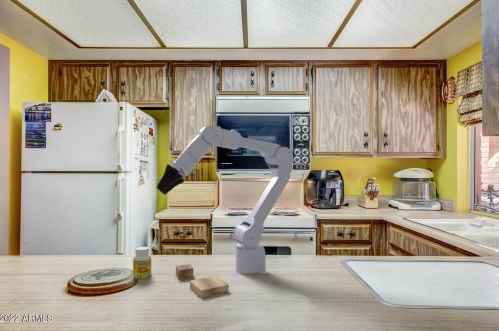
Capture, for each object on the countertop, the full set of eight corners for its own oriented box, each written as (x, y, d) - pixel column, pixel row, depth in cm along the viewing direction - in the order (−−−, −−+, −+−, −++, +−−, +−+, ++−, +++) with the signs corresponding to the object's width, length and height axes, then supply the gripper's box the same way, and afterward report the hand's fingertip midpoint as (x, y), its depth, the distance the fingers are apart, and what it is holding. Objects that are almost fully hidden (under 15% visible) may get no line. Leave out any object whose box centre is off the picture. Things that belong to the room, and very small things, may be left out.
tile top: (215, 281, 91) (215, 275, 91) (228, 291, 84) (228, 284, 84) (189, 287, 86) (189, 280, 86) (200, 297, 80) (201, 290, 80)
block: (189, 276, 98) (190, 264, 98) (193, 281, 94) (193, 268, 94) (175, 278, 97) (175, 265, 97) (178, 283, 92) (178, 270, 93)
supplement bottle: (148, 275, 99) (148, 245, 99) (153, 280, 94) (153, 248, 95) (130, 278, 96) (131, 247, 96) (135, 283, 92) (135, 251, 92)
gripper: (181, 154, 102) (153, 186, 98) (179, 142, 88) (146, 179, 84) (198, 167, 102) (170, 199, 98) (198, 158, 88) (166, 195, 84)
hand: (160, 191), depth 91 cm, fingers open, 7 cm apart
